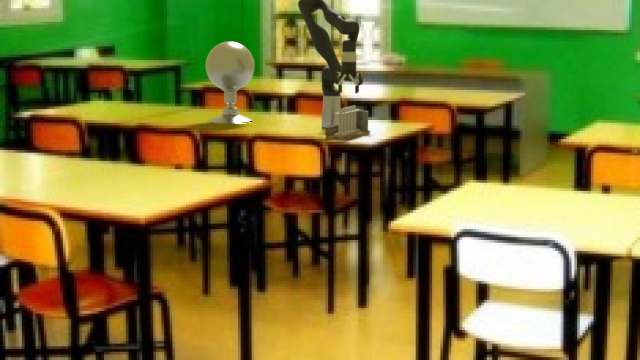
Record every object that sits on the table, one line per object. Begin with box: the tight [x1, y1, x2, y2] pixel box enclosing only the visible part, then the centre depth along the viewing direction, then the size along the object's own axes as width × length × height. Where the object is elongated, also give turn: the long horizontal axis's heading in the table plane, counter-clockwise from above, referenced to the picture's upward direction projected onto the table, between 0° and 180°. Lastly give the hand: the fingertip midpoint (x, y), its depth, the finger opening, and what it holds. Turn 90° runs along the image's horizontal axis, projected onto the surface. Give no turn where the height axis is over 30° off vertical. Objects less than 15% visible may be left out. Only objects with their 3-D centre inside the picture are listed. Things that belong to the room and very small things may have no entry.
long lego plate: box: [334, 104, 361, 136], centre depth 511 cm, size 25×4×13 cm, turn 156°
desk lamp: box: [205, 41, 255, 124], centre depth 574 cm, size 28×28×45 cm
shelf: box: [325, 110, 371, 141], centre depth 512 cm, size 12×31×12 cm, turn 157°
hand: (348, 92), depth 510 cm, fingers open, 8 cm apart
